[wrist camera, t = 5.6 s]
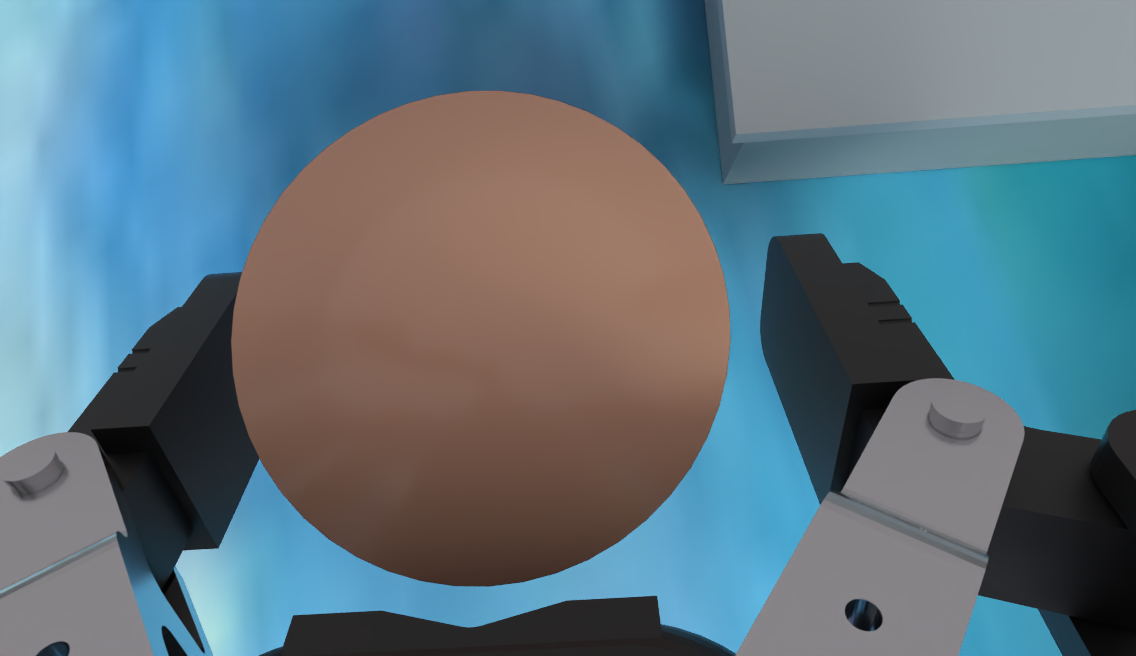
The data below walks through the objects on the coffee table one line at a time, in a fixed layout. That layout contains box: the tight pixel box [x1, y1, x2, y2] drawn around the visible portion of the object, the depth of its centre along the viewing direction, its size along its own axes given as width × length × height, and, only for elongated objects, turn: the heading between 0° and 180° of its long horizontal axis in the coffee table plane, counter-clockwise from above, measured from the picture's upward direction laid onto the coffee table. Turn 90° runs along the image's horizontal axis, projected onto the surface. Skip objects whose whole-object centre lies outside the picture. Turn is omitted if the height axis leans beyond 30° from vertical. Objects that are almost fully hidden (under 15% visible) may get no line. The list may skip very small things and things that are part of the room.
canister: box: [231, 91, 730, 586], centre depth 12 cm, size 5×5×9 cm
